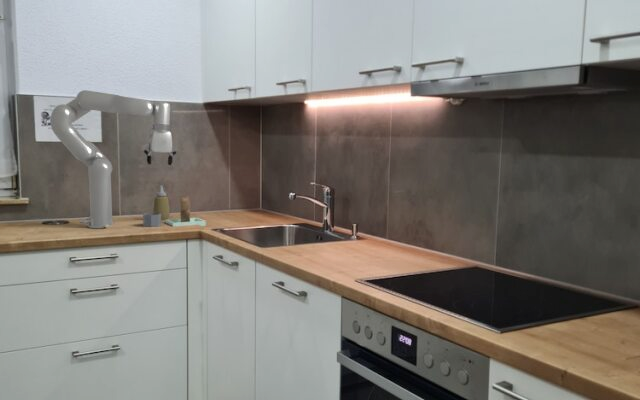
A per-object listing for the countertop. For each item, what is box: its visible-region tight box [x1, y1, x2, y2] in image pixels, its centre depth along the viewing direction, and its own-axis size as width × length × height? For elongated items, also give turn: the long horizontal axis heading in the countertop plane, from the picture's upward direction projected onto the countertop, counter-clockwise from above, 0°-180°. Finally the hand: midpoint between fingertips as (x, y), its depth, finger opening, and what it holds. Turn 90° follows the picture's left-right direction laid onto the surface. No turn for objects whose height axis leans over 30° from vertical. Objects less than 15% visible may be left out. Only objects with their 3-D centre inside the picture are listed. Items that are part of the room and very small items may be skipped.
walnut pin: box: [180, 195, 191, 222], centre depth 279 cm, size 4×4×13 cm
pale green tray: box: [164, 217, 207, 227], centre depth 280 cm, size 16×12×2 cm
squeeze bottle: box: [152, 185, 171, 221], centre depth 291 cm, size 8×8×18 cm
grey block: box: [142, 212, 162, 228], centre depth 271 cm, size 8×8×6 cm
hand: (159, 164), depth 276 cm, fingers open, 9 cm apart
